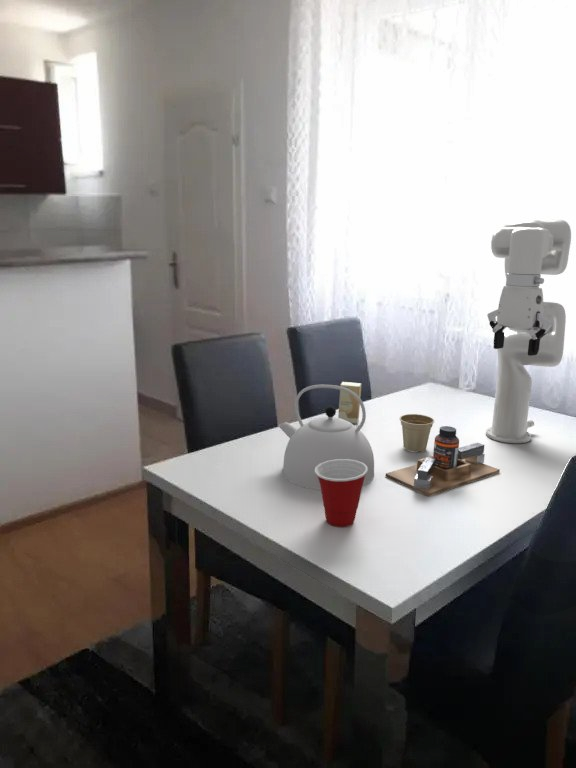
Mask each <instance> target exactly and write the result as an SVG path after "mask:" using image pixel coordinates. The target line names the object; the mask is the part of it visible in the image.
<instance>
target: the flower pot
mask: <svg viewBox="0 0 576 768" xmlns="http://www.w3.org/2000/svg"><path fill="white" fill-rule="evenodd" d="M399 421H400V425H401V430H402V441H403V445H402V446H403V448H404V449H405V451H408V452H413V453H417V452H420V453H421V452H425V451H427V447H428V443H429V439H430V438H429V437H430V434H431V430H432V427H433V426H434V425H433V424H434V423H435V418H433V417H432V416H429V415H425V414H418V413H407V414H402V415H401V416H400V417H399Z"/></svg>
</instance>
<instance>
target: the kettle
mask: <svg viewBox="0 0 576 768" xmlns="http://www.w3.org/2000/svg"><path fill="white" fill-rule="evenodd" d="M313 389H333V390H334V389H335V390H339V391H340V390H343V391H345V392H348V393H349V394H351V395H352V396H354V397H355V398H356V399H357V400H358V402H359V403H360V408H361V411H362V412H361V413H362V416H361V418H362V419H361V421H360V424H359V425H358V426H356V425H354V423H350V422H348V421H346V420H344V419H341V418H338V417H337V416H336V417H335V415H336V414H337V410H336V408H335V407H334V406H328V407H326V408H325V411H324V413H325V415H326V416H323V417H317V418H313V419H312V420H310V421H308V422H306V423H305V424H304V422H303V420H302V418H301V416H300V412H299V410H298V409H299V401H300V398H301V396H302V395H303V394H304V393H305V392H307V391H310V390H313ZM294 413H295V417H296V419H297V421H298V423H299V425H300V427H299V428H296V427H295V426H293V425H291V423H289V422H287V421H285V422H282V423H280V424H277V426H278V428H279V429H280V430H281V431H282V432H283V433H284V434H285V435H286V436H287V437H288V438H289V440H288V442H287V445H286V447H285V450H284V455H283V467H282V474H283V477H284V478H285V479H286V480H287V481H289V482H291V483H292V484H294V485H296V486H300V487H302V488H306V489H310V490H316V491H321V486H320V482H319V479H318V476H317V475H316V473H315V467H316V466H318V465H319V464H320V463H323V462H326V461H330V460H336V459H349V460H356V461H359V462H362V463H364V464H365V465H366V466H367V469H368V471H367V473H366V475H365V478H364V482H363V485H362V488H363V487H365V486H367V485H369V484H370V483H371V482H372V481H373V480H374V478H375V458H374V457H375V456H374V452H373V448H372V446H371V443H370V442H369V440H368V438H367V437H366V435H365V434H364V433H363V432H362V431H361V430H362V428H363V426H364V424H365V423H366V418H367V415H366V414H367V413H366V408H365V405H364V402H363V400H362V399H361V397H360V398H359V397H358V396H357V395H356V394H355V393H354V392H353V391H351V390H349V389H347V388H344V387H341V386H340V385H335V384H334V385H333V384H315V385H309V386H306V387H305V388H303V389H301V390H300V391H299V392H298V393H297V395H296V397H295V400H294Z"/></svg>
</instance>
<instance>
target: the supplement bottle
mask: <svg viewBox="0 0 576 768" xmlns="http://www.w3.org/2000/svg"><path fill="white" fill-rule="evenodd" d="M438 433H439V434H436V436H435V437H434V442H433V453H432V456H433V459H435V466H437V467H439V468H442V469H444V470H448V469H451V468H455V467H457V460H458V450H459V448H460V439H459V437H458V436H457V428H455V427H453V426H450V425H449V426H448V425H445V426H443V425H442V426H440V427H439V431H438Z"/></svg>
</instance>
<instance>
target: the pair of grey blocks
mask: <svg viewBox="0 0 576 768" xmlns="http://www.w3.org/2000/svg"><path fill="white" fill-rule="evenodd" d="M427 457H428V456H426V457H425V458H426V459H425V460H424V462H423V463H422V465H421V466H420V468H419V469H418V474H417V475H416V476H415V478H414V488H417V489H422V490H428V491H429V490H430V488H431V487H432V477H433V476H430V474H431V473H432V471H433V470H434V468H435V459H433V458H427ZM458 459H460V460H462V459H465V461H467V462H469V463H472V464H474V465H479V464H482V463H483V464H485V444H482V443H481V442H474V443H471V444H467V445H464V446H461V447H460V446H459V450H458Z"/></svg>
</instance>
